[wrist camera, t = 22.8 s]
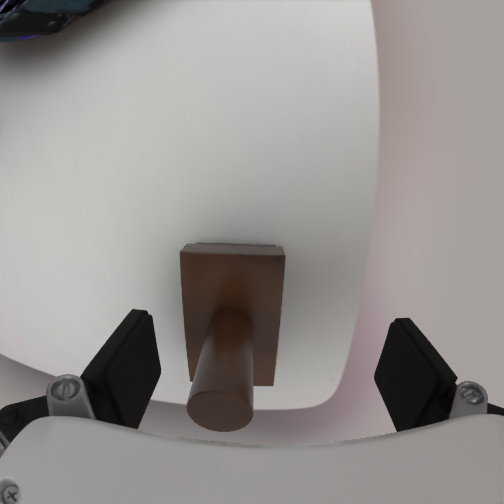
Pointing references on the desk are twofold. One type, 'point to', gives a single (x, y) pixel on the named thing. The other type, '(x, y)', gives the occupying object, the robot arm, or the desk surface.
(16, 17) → the decorative bowl
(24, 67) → the desk surface
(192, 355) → the stamp
